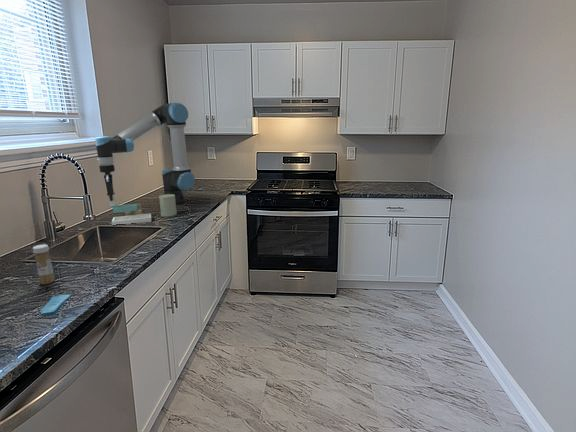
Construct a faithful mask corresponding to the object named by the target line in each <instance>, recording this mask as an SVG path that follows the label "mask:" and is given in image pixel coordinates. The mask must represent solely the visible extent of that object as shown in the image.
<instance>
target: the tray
mask: <svg viewBox="0 0 576 432" xmlns="http://www.w3.org/2000/svg"><path fill="white" fill-rule="evenodd" d="M151 222H152V213H142V214H140V215H130V216H125V215H123V216H114V217H113V218H112V220H111V226H112V225H116V224H126V225H132V224H131V223H136V224H143V223H151Z"/></svg>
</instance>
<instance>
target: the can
mask: <svg viewBox="0 0 576 432" xmlns="http://www.w3.org/2000/svg"><path fill="white" fill-rule="evenodd" d="M158 199H159V206H160V216H161V217H174V216H176V215H177V214H178V212H177V204H176V202H175V195H174V194H166V195H164V194H161V195H159V196H158Z"/></svg>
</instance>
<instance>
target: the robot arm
mask: <svg viewBox="0 0 576 432" xmlns="http://www.w3.org/2000/svg"><path fill="white" fill-rule="evenodd" d="M188 119H189V111H188V109H187V107H186V106H185V105H184V104H183V103H180V102H171V103H164V104H162V105H160V106H158V107H157V108H155V109H154V110H152V111H150V112H149V114H148V115H147V116H146V117H144V118H143V119H141V120H139V121H138V122H136V123H134V124H133V125H130V126H129V127H127V128H126V129H124V130H122V131H121V132H119V133H117V134H116V135H114V136H113V137H111V136H109V135H105V136H104V135H103V136H96V137H94V138H95V147H96V153H97V159H96V161H98V164H99V166H98V168H99V172H100V173H104V175H103V178H104V182H105V183H104V184H105V188H106V191H107V192H106V196H107V197H108V203H109V207H113V206H116V202H115V193H116V192H114V184H113V183H114V181H113V174H112V173H113V172H115V169H116V168H115V165H114V164H115V162H114V155H113V154H117V153H118V154H119V153H122V154H123V153H131V152H133V151H134V149H135V145H134V144H135V143H134V142H133V141H135V140H136V139H137V138H140V137H141V136H143V135H144V134H146V133H147V132H149V131H151V130H152V129H154V128H155V127H160V126H162V125H165V124H166V127H168V129H169V136H170V142H171V151H172V159H173V168H168V169H163V170H162V172H161V173H162V174H161V176H162V182H163V184H162V185H163V191H164V192H163V195H166V194H174V195H175V202H176V205H179V204H184V203H186V201H187V199H186V196H185V194H184V192H183V191H188V190H190V189H192V188H193V186H194V185H195V183H196V179H195V175H194V174H193V172H192V170H191V167H190V166H189V163H188V155H187V146H186V144H187V143H186V135H185V127H186V126H187V122H186V121H187V120H188Z"/></svg>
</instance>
